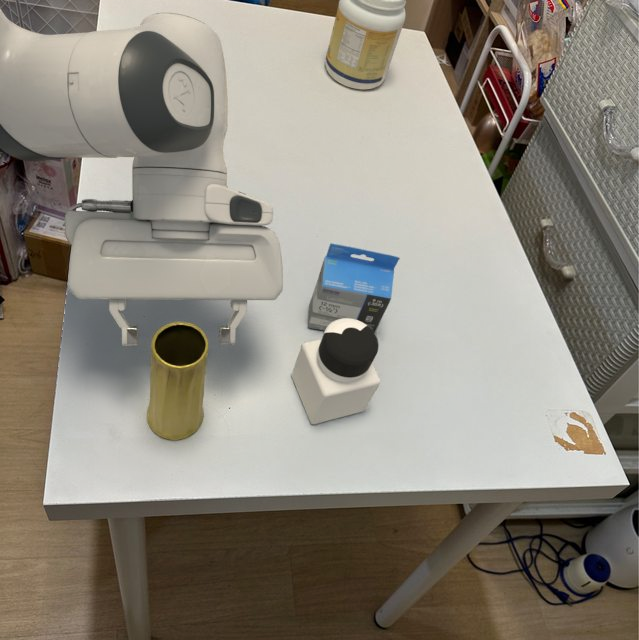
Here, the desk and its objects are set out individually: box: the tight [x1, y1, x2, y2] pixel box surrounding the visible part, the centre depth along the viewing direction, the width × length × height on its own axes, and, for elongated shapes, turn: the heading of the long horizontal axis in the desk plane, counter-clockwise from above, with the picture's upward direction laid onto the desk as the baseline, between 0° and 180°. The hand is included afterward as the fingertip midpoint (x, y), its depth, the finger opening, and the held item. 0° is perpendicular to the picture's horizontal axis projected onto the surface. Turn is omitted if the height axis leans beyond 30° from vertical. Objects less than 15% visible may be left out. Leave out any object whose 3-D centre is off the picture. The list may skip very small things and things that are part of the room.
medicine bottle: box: [291, 318, 382, 425], centre depth 68 cm, size 7×7×12 cm
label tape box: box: [307, 242, 401, 334], centre depth 75 cm, size 9×4×12 cm, turn 87°
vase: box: [146, 321, 210, 441], centre depth 61 cm, size 6×6×14 cm
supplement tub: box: [325, 0, 407, 91], centre depth 111 cm, size 12×12×17 cm
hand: (179, 344), depth 60 cm, fingers open, 8 cm apart
